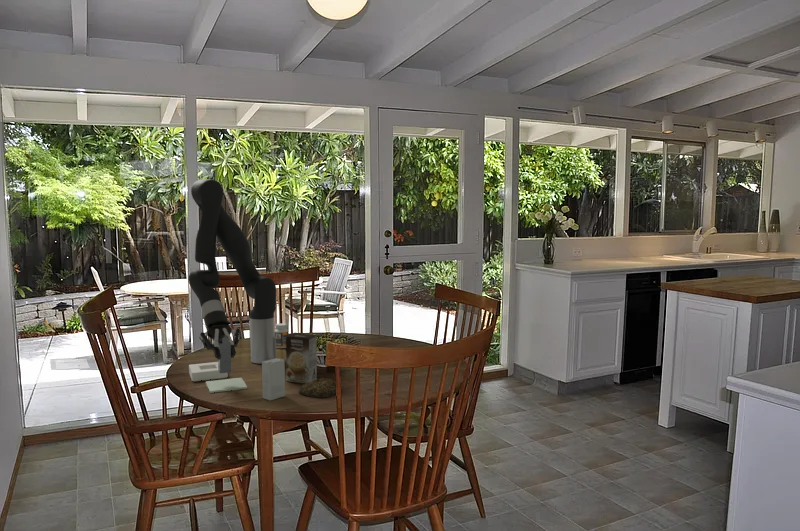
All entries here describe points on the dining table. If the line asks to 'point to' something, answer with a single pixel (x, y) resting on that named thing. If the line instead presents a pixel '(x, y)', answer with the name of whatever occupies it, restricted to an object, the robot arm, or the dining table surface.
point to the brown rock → (319, 388)
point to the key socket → (205, 371)
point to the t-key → (224, 354)
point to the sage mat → (226, 385)
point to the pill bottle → (281, 335)
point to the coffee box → (301, 358)
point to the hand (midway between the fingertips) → (226, 357)
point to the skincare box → (273, 378)
